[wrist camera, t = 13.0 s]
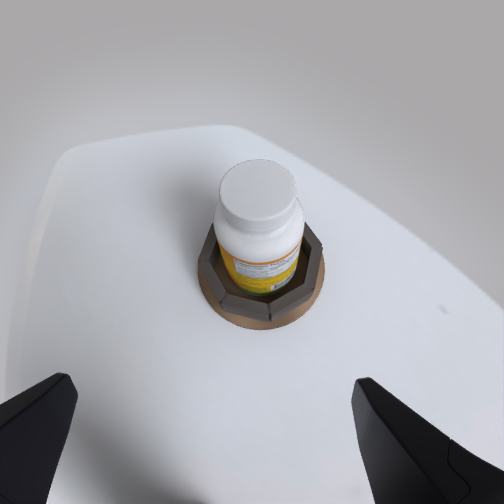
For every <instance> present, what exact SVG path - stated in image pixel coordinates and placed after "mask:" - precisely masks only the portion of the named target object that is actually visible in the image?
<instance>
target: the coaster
mask: <svg viewBox="0 0 504 504" xmlns="http://www.w3.org/2000/svg"><path fill="white" fill-rule="evenodd" d="M321 246H322V244H321V242H320V241H319V240H318V238H317V237H316V236H315V234H314V233H313V232H312V230H311V229H310V228H309V226H308V225H307V224H306V222H305V223H304V231H303V237H302V242H301V247H300V251H299V256H298V261H297V266H296V270H295V273H294V276H293V278H292V280H291V281H290V282H289V284H288V285H287V286H286V287H285V288H283V289H282V290H281V291H279V292H277V293H275V294H272V295H268V296H255V295H251V294H248V293H245V292H243V291H242V290H240V289H239V288H237V287H236V286H235V285H234V284H233V282H232V281H231V279H230V277H229V275H228V273H227V270H226V267H225V264H224V260H223V257H222V254H221V251H220V247H219V244H218V241H217V237H216V234H215V229H214V223H212V225H211V227H210V230H209V233H208V235H207V238H206V240H205V243H204V246H203V248H202V251H201V254H200V256H199V259H198V262H199V263H198V277H199V283H200V286H201V289H202V292H203V294H204V296H205V298H206V299H207V301H208V302H209V304H210V305H211V307H212V308H213V309H214V310H215V311H216V312H217V313H218V314H219V315H220V316H221V317H223V318H224V319H226V320H227V321H229V322H231V323H233V324H235V325H237V326H240V327H243V328H248V329H254V330H268V329H274V328H279V327H282V326H285V325H287V324H289V323H291V322H293V321H295V320H297V319H298V318H300V317H301V316H302V315H303V314H304V313H306V312H307V311H308V310H309V308H310V307H311V306H312V305H313V303H314V302H315V300H316V299H317V297H318V295H319V293H320V290H321V288H322V285H323V281H324V274H325V265H324V258H323V255H322V250H323V247H321Z"/></svg>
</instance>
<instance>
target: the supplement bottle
mask: <svg viewBox="0 0 504 504" xmlns="http://www.w3.org/2000/svg"><path fill="white" fill-rule="evenodd" d="M219 196H220V201H219V203H218V205H217V207H216V210H215V213H214V229H215V234H216V237H217V241H218V244H219V247H220V251H221V254H222V257H223V260H224V264H225V267H226V270H227V273H228V275H229V277H230V279H231V281H232V282H233V284H234V285H235V286H236V287H237V288H239V289H240V290H242V291H243V292H245V293H248V294H251V295H255V296H268V295H272V294H275V293H277V292H279V291H281V290H282V289H283V288H285V287H286V286H287V285H288V284H289V282H290V281H291V280H292V278H293V276H294V273H295V270H296V266H297V261H298V256H299V251H300V247H301V242H302V237H303V231H304V223H305V217H304V211H303V208H302V205H301V203H300V201H299V200H298V198H297V185H296V182H295V179H294V177H293V176H292V174H291V173H290V172H289V171H288V170H287V169H286V168H285V167H283V166H282V165H280V164H278V163H276V162H273V161H269V160H261V159H258V160H249V161H245V162H242V163H240V164H238V165H236V166H234V167H233V168H231V169H230V170H229V171H228V172H227V173H226V174H225V176H224V177H223V179H222V181H221V183H220V188H219Z"/></svg>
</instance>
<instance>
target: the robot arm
mask: <svg viewBox="0 0 504 504" xmlns="http://www.w3.org/2000/svg"><path fill="white" fill-rule="evenodd" d="M77 399H78V393H77V390H76V388H75V386H74V384H73V382H72V380H71V378H70V376H69V375H68V374H65V373H56V374H54V375H52V376H50V377H49V378H47V379H45V380H43V381H42V382H40V383H38V384H36V385H34V386H33V387H31V388H29V389H27V390H26V391H24V392H22V393H20V394H18V395H17V396H15V397H13V398H11V399H9V400H8V401H6V402H4V403H2V404H0V504H46V502H47V498H48V494H49V491H50V488H51V484H52V481H53V478H54V474H55V471H56V468H57V465H58V462H59V459H60V456H61V453H62V450H63V447H64V445H65V442H66V439H67V436H68V433H69V429H70V425H71V421H72V417H73V414H74V410H75V406H76V403H77ZM351 403H352V410H353V415H354V421H355V427H356V432H357V439H358V444H359V449H360V452H361V456H362V459H363V463H364V466H365V469H366V473H367V476H368V480H369V483H370V487H371V490H372V494H373V497H374V501H375V504H504V471H503V470H501V469H499V468H497V467H495V466H493V465H491V464H490V463H488V462H486V461H484V460H482V459H481V458H479V457H477V456H476V455H474V454H472V453H471V452H469V451H468V450H466V449H465V448H463V447H462V446H460V445H459V444H458V443H456V442H455V441H454V440H452V439H450V438H449V437H448V436H447V435H445V434H444V433H443V432H441V431H440V430H439V429H437V428H436V427H435V426H433V425H432V424H431V423H429V422H428V421H427V420H425V419H424V418H423V417H421V416H420V415H419V414H417V413H416V412H415V411H413V410H412V409H411V408H409V407H408V406H407V405H405V404H404V403H403V402H401V401H400V400H399V399H398V398H396V397H395V396H394V395H392V394H391V393H390V392H388V391H387V390H386V389H385V388H383V387H382V386H381V385H379V384H378V383H377V382H375V381H374V380H373V379H372V378H370V377H366V378H359V379H357V380H356V381H355V385H354V390H353V394H352V400H351Z"/></svg>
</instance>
